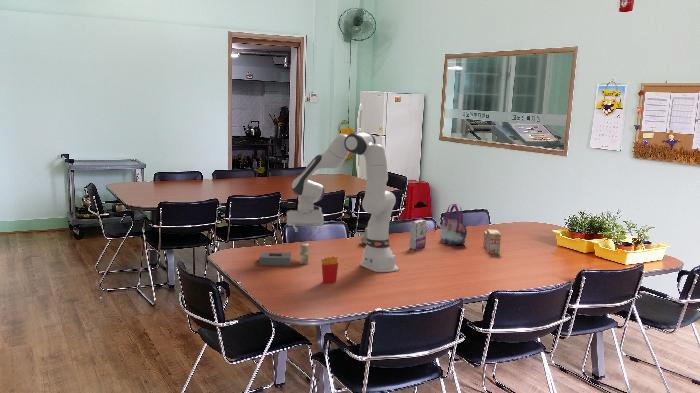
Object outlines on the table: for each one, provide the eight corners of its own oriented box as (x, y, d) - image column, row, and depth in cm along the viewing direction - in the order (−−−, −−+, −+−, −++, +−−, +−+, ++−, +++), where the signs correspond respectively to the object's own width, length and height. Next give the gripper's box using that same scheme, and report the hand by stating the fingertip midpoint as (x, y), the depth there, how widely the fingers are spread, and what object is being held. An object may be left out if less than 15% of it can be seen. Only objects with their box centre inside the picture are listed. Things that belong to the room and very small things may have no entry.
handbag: (434, 240, 376) (436, 202, 373) (445, 239, 382) (448, 201, 379) (459, 247, 359) (462, 207, 356) (470, 245, 365) (473, 206, 362)
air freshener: (358, 244, 359) (358, 228, 357) (364, 241, 366) (364, 225, 365) (374, 246, 354) (375, 230, 352) (380, 244, 361) (381, 228, 360)
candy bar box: (418, 245, 361) (419, 219, 359) (425, 246, 358) (427, 220, 356) (408, 248, 352) (410, 221, 350) (416, 249, 349) (417, 222, 347)
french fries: (334, 279, 282) (335, 255, 281) (338, 281, 279) (339, 257, 277) (319, 281, 278) (320, 257, 276) (323, 284, 274) (324, 259, 273)
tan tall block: (308, 262, 312) (308, 243, 311) (308, 263, 309) (308, 245, 307) (299, 262, 312) (300, 243, 310) (299, 263, 308) (300, 245, 307)
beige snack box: (482, 245, 368) (484, 226, 366) (493, 246, 368) (494, 226, 366) (488, 253, 347) (490, 233, 345) (499, 254, 347) (501, 233, 345)
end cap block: (291, 259, 316) (291, 252, 315) (290, 265, 304) (290, 258, 303) (260, 259, 315) (261, 251, 314) (259, 265, 303) (259, 257, 302)
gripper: (286, 206, 324) (285, 227, 316) (323, 207, 325) (323, 228, 317) (286, 213, 329) (285, 234, 321) (323, 214, 330) (323, 235, 322)
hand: (304, 231), depth 319 cm, fingers open, 8 cm apart
